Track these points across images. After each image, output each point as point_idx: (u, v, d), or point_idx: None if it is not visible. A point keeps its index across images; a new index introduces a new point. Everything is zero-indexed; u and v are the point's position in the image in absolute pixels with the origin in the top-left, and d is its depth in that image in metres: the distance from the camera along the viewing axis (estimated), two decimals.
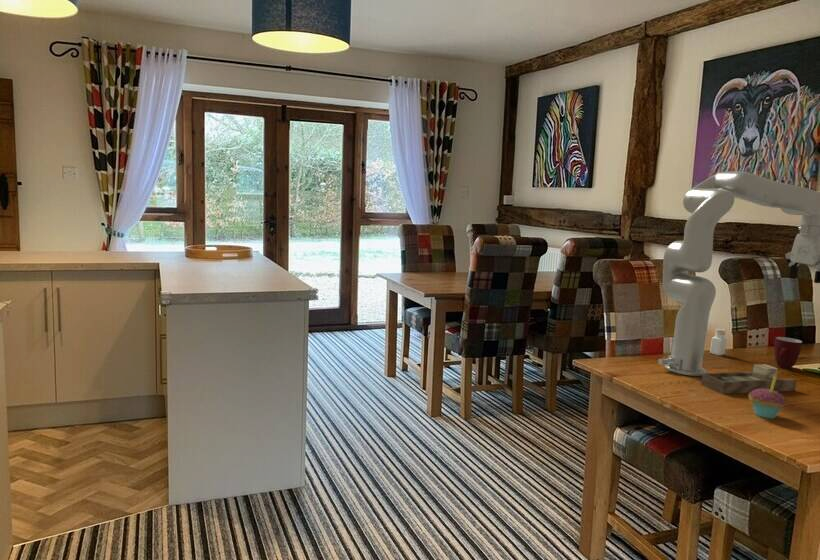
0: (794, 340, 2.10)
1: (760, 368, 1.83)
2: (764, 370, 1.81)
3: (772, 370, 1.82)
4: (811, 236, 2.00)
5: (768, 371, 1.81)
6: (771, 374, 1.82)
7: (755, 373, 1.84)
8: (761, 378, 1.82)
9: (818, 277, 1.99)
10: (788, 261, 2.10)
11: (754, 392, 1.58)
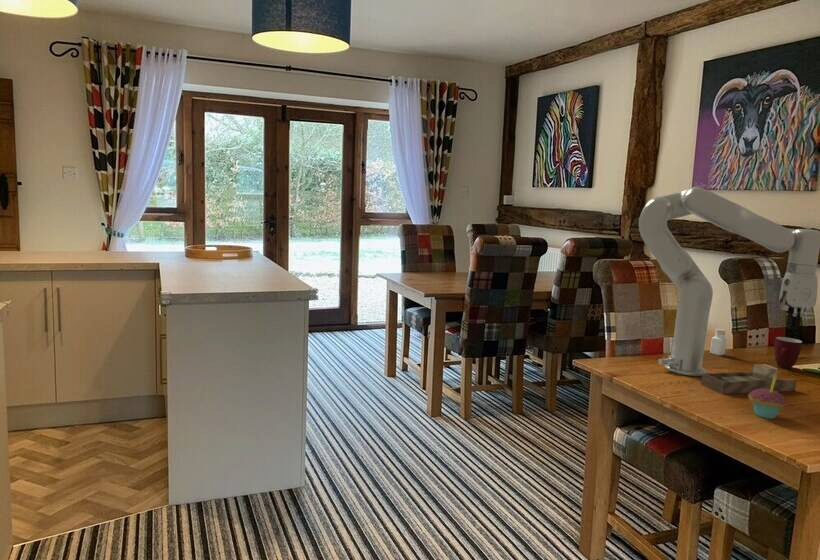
0: (794, 340, 2.10)
1: (760, 368, 1.83)
2: (764, 370, 1.81)
3: (772, 370, 1.82)
4: (812, 276, 1.79)
5: (768, 371, 1.81)
6: (771, 374, 1.82)
7: (755, 373, 1.84)
8: (761, 378, 1.82)
9: None
10: (791, 310, 1.82)
11: (754, 392, 1.58)
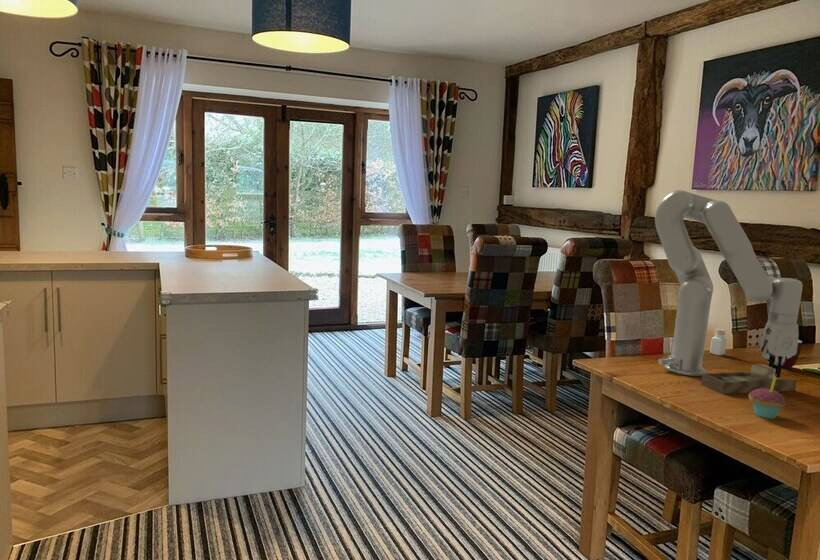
0: None
1: (758, 368, 1.82)
2: (762, 370, 1.81)
3: (770, 370, 1.81)
4: (793, 326, 1.81)
5: (766, 371, 1.81)
6: (769, 374, 1.81)
7: (753, 373, 1.84)
8: (759, 378, 1.82)
9: None
10: (772, 359, 1.83)
11: (754, 392, 1.58)
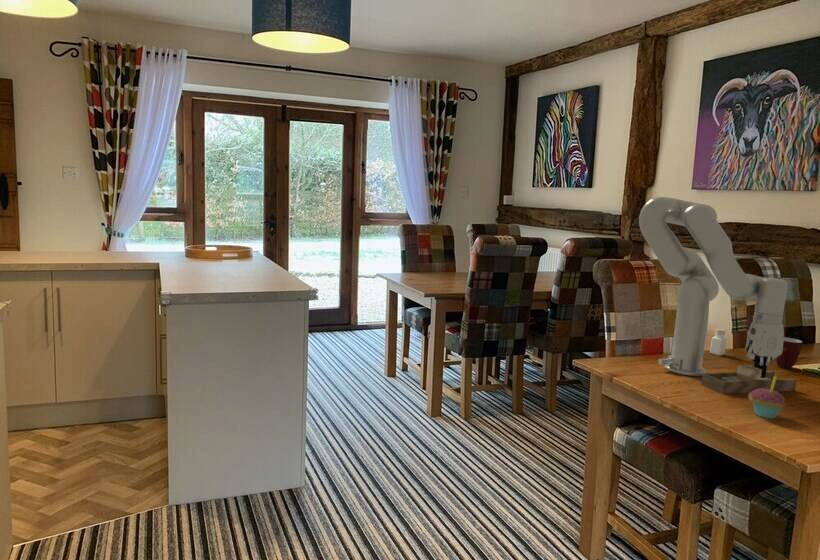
0: (794, 340, 2.10)
1: (744, 369, 1.80)
2: (748, 371, 1.79)
3: (756, 371, 1.79)
4: (778, 326, 1.79)
5: (752, 372, 1.79)
6: (755, 375, 1.79)
7: (739, 374, 1.82)
8: (745, 379, 1.80)
9: None
10: (757, 359, 1.81)
11: (754, 392, 1.58)
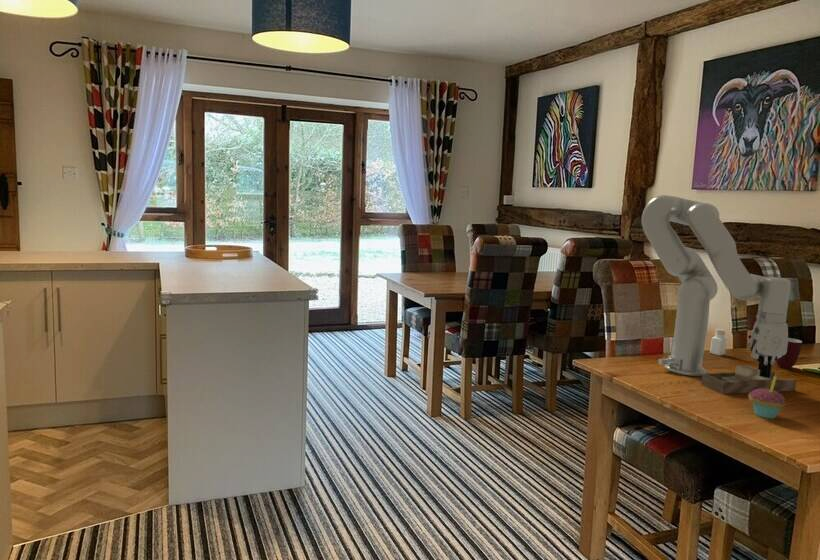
0: (794, 340, 2.10)
1: (742, 369, 1.80)
2: (746, 371, 1.79)
3: (754, 371, 1.79)
4: (782, 325, 1.79)
5: (750, 372, 1.78)
6: (753, 375, 1.79)
7: (737, 374, 1.82)
8: (743, 379, 1.79)
9: None
10: (761, 359, 1.81)
11: (754, 392, 1.58)
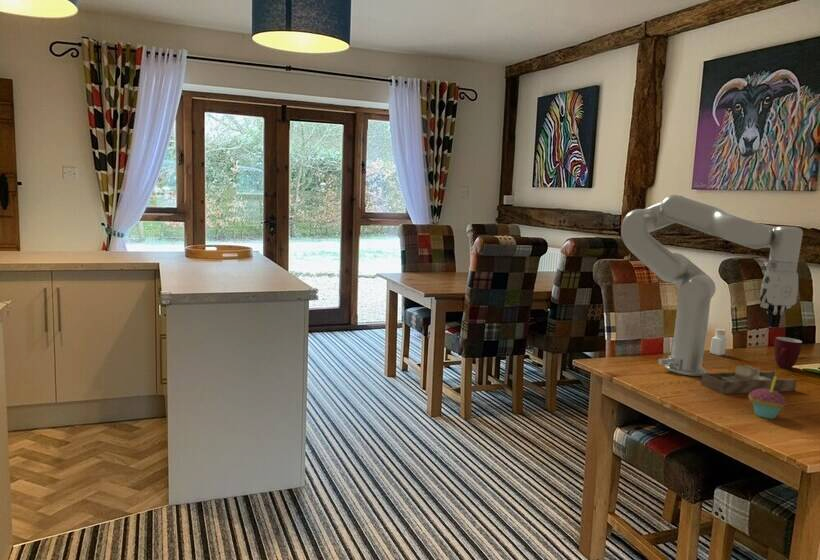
0: (794, 340, 2.10)
1: (742, 369, 1.80)
2: (746, 371, 1.79)
3: (754, 371, 1.79)
4: (793, 274, 1.78)
5: (750, 372, 1.78)
6: (753, 375, 1.79)
7: (737, 374, 1.82)
8: (743, 379, 1.79)
9: None
10: (771, 308, 1.80)
11: (754, 392, 1.58)
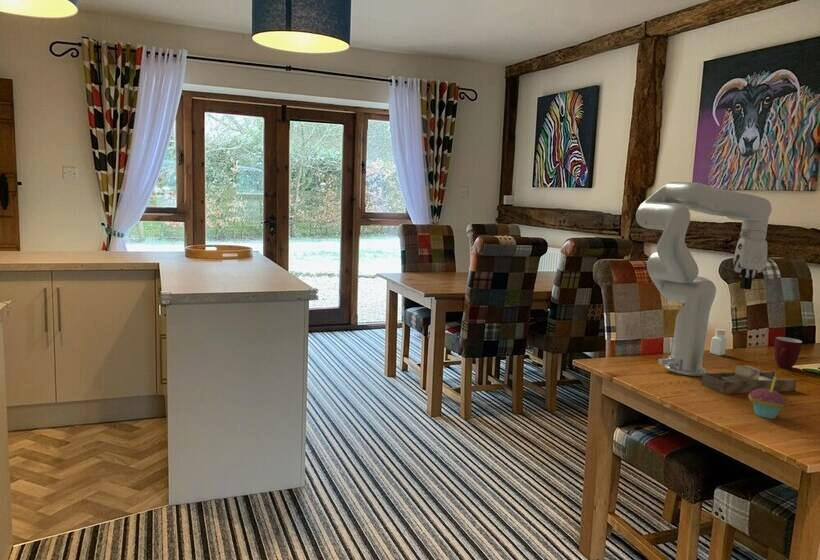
0: (794, 340, 2.10)
1: (742, 369, 1.80)
2: (746, 371, 1.79)
3: (754, 371, 1.79)
4: (763, 241, 2.00)
5: (750, 372, 1.78)
6: (753, 375, 1.79)
7: (737, 374, 1.82)
8: (743, 379, 1.79)
9: None
10: (744, 272, 2.03)
11: (754, 392, 1.58)
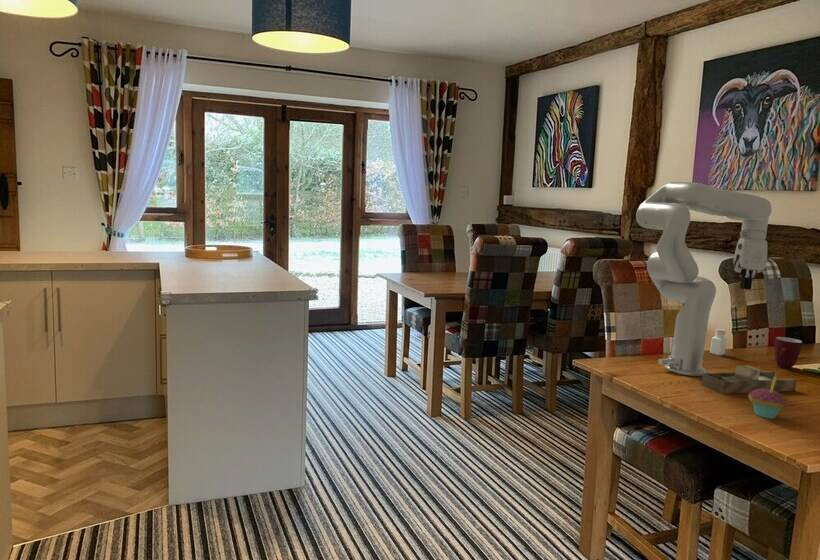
0: (794, 340, 2.10)
1: (742, 369, 1.80)
2: (746, 371, 1.79)
3: (754, 371, 1.79)
4: (762, 241, 2.00)
5: (750, 372, 1.78)
6: (753, 375, 1.79)
7: (737, 374, 1.82)
8: (743, 379, 1.79)
9: None
10: (744, 272, 2.03)
11: (754, 392, 1.58)
